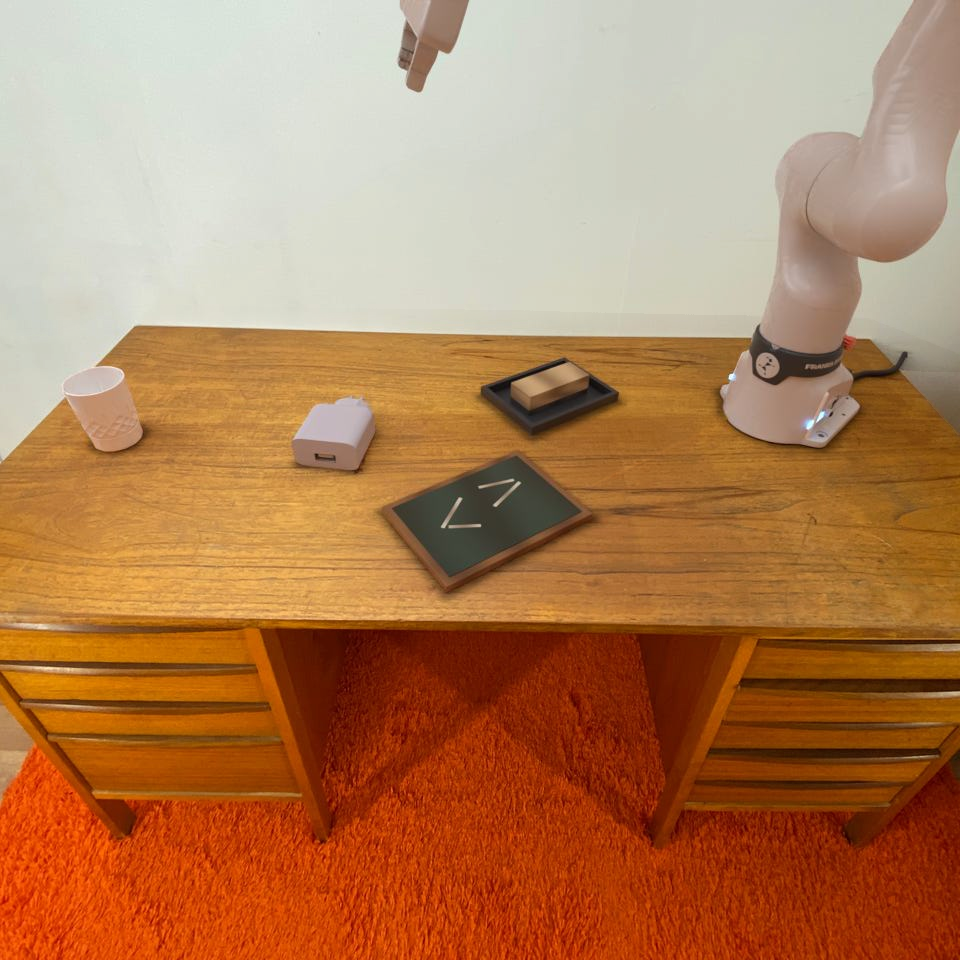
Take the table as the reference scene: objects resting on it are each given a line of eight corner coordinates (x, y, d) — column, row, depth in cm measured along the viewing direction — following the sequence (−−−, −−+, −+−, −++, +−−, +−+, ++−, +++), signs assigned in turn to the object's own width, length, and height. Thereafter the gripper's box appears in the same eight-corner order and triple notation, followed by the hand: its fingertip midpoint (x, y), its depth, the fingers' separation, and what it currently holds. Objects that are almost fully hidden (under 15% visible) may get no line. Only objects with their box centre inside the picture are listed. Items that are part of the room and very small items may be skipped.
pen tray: (563, 367, 112) (564, 356, 110) (617, 403, 103) (619, 392, 102) (480, 397, 104) (480, 386, 103) (531, 438, 96) (532, 427, 94)
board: (517, 455, 92) (518, 449, 92) (591, 519, 82) (593, 512, 81) (381, 513, 83) (380, 506, 82) (446, 593, 73) (446, 586, 72)
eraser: (567, 379, 107) (569, 361, 105) (587, 393, 104) (589, 374, 102) (510, 401, 102) (510, 382, 100) (529, 416, 99) (530, 397, 97)
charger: (387, 412, 101) (358, 471, 89) (330, 406, 102) (295, 464, 90) (384, 386, 98) (354, 444, 86) (326, 381, 99) (289, 437, 87)
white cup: (159, 431, 96) (136, 373, 90) (116, 460, 91) (89, 401, 84) (120, 418, 99) (96, 361, 92) (76, 446, 93) (47, 387, 87)
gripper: (506, -51, 55) (448, 116, 63) (467, -68, 70) (424, 69, 78) (438, -90, 53) (387, 89, 61) (412, -99, 67) (374, 46, 75)
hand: (407, 78), depth 69 cm, fingers open, 8 cm apart
